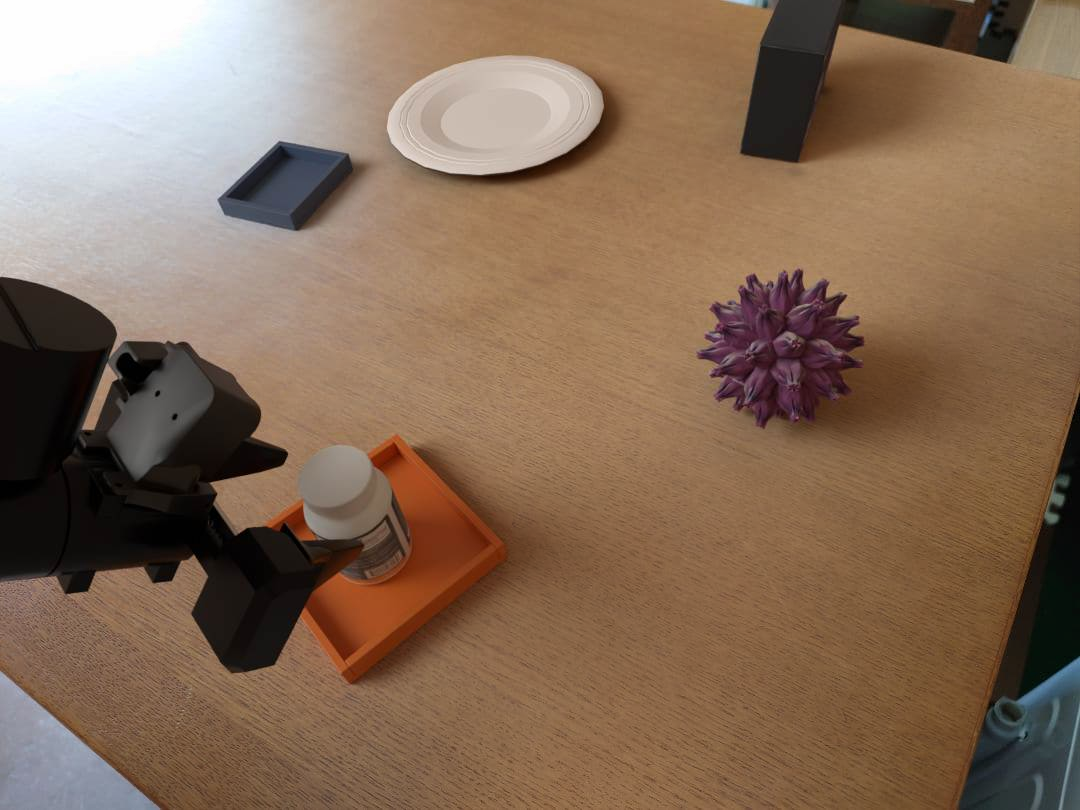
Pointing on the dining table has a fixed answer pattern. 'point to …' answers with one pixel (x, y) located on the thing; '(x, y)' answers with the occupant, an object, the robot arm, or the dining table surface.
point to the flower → (781, 347)
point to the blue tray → (286, 185)
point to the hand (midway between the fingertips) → (321, 501)
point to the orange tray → (423, 582)
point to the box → (790, 76)
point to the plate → (495, 115)
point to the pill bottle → (355, 511)
